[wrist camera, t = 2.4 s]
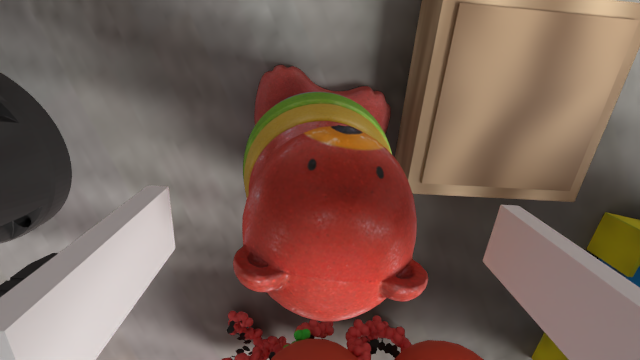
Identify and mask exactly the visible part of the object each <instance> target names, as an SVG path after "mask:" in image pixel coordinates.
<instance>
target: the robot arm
mask: <svg viewBox="0 0 640 360" xmlns="http://www.w3.org/2000/svg"><path fill="white" fill-rule="evenodd" d="M71 178H72V170H71V162H70V157H69V153H68V150H67V147H66V144H65V142H64V140H63V137H62V136H61V134H60V132H59V130H58V128H57V127H56V125H55V123H54V122H53V120H52V119H51V117H50V116H49V115H48V114H47V112H46V111H45V110H44V109H43V108H42V106H41V105H40V104H39V103H38V102H37V101H36V100H35V99H34V98H33V97H32V96H31V95H30V94H29V93H28V92H26V91H25V90H24V89H23V88H22V87H20V86H19V85H18V84H16V83H15V82H14V81H12V80H11V79H9V78H8V77H6V76H5V75H3V74H1V73H0V243H4V242H7V241H11V240H13V239H16V238H18V237H21V236H23V235H25V234H27V233H28V232H30V231H32V230H33V229H35V228H37V227H38V226H40V225H42V224H43V223H45V222H46V221H48V220H49V219H51V218H52V217H53V216H54V215H55V214H56V213H57V212H58V211H59V210H60V209H61V208H62V206H63V205H64V203H65V201H66V199H67V197H68V194H69V191H70V187H71ZM174 250H175V240H174V232H173V223H172V214H171V205H170V196H169V187H167V186H149V185H148V186H146V187H145V188H144V189H142V190H141V191H140V192H138V193H137V194H136V195H134V196H133V197H132V198H130V199H129V200H128V201H126V202H125V203H124V204H123V205H121V206H120V207H119V208H117V209H116V210H115V211H113V212H112V213H111V214H109V215H108V216H107V217H105V218H104V219H103V220H102V221H100V222H99V223H98V224H96V225H95V226H94V227H92V228H91V229H90V230H88V231H87V232H86V233H84V234H83V235H82V236H80V237H79V238H78V239H77V240H75V241H74V242H73V243H71V244H70V245H69V246H67V247H66V248H65V249H63V250H62V251H61V252H59V253H52V254H50V255H48V256H46V257H43V258H41V259H39V260H37V261H35V262H33V263H31V264H29V265H28V266H26V267H25V268H23V269H22V270H21V271H19V272H18V273H16V274H15V275H14V276H12V277H11V278H10V280H9V281H5V282H4V283H3V284H1V285H0V360H96V358H97V357H98V355H99V354H100V353H101V351H102V350H103V349H104V347H105V346H106V344H107V343H108V342H109V340H110V339H111V337H112V336H113V335H114V333H115V332H116V330H117V329H118V328H119V326H120V325H121V323H122V322H123V321H124V319H125V318H126V316H127V315H128V314H129V312H130V311H131V309H132V308H133V307H134V305H135V304H136V303H137V301H138V300H139V298H140V297H141V296H142V294H143V293H144V291H145V290H146V289H147V287H148V286H149V284H150V283H151V282H152V280H153V279H154V277H155V276H156V275H157V273H158V272H159V270H160V269H161V268H162V266H163V265H164V264H165V262H166V261H167V259H168V258H169V257H170V255H171V254H172V252H173V251H174ZM483 263H484V264H485V265H486V266H487V267H488V268H489V269H490V270H491V272H492V273H493V274H494V275H495V276H496V277H497V278H498V280H499V281H500V282H501V283H502V284H503V285H504V286H505V288H506V289H507V290H508V291H509V292H510V293H511V294H512V296H513V297H514V298H515V299H516V300H517V301H518V302H519V304H520V305H521V306H522V307H523V308H524V309H525V310H526V311H527V313H528V314H529V315H530V316H531V317H532V318H533V319H534V321H535V322H536V323H537V324H538V325H539V326H540V327H541V329H542V330H543V331H544V332H545V333H546V334H547V335H548V337H549V338H550V339H551V340H552V341H553V342H554V343H555V344H556V346H557V347H558V348H559V349H560V350H561V351H562V352H563V354H564V355H565V356H566V357H567V358H568V359H569V360H640V287H638V286H637V285H635V284H634V283H632V282H631V281H629V280H628V279H626V278H625V277H623V276H622V275H620V274H619V273H617V272H616V271H614V270H613V269H612V268H610V267H609V266H607V265H606V264H604V263H603V262H601V261H600V260H598V259H597V258H595V257H594V256H592V255H591V254H589V253H588V252H586V251H585V250H583V249H582V248H581V247H579V246H578V245H576V244H575V243H573V242H572V241H570V240H569V239H567V238H566V237H564V236H563V235H561V234H560V233H558V232H557V231H555V230H554V229H552V228H551V227H550V226H548V225H547V224H545V223H544V222H542V221H541V220H539V219H538V218H536V217H535V216H533V215H532V214H530V213H529V212H527V211H526V210H524V209H523V208H521V207H520V206H516V205H500V208H499V211H498V215H497V218H496V221H495V224H494V227H493V230H492V233H491V236H490V240H489V243H488V246H487V249H486V252H485V255H484V258H483Z"/></svg>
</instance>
